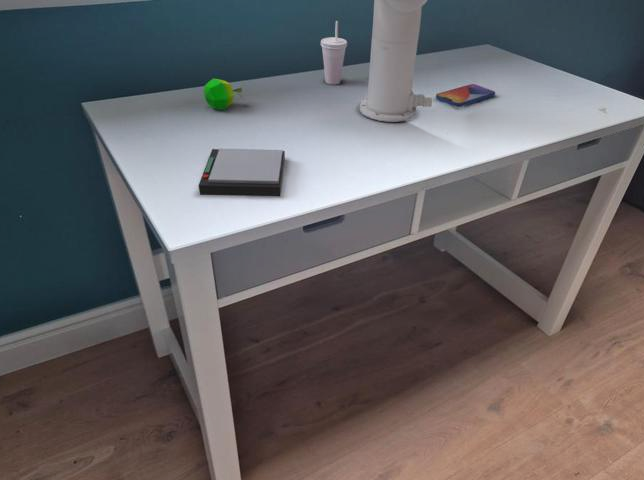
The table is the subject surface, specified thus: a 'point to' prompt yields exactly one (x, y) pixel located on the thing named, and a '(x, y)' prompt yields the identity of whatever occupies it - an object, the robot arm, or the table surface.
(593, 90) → the table surface
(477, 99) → the smartphone
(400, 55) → the robot arm
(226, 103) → the apple
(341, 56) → the smoothie
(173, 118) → the table surface
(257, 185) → the scale
